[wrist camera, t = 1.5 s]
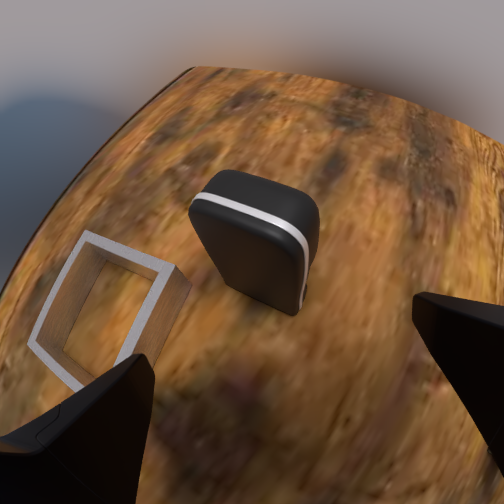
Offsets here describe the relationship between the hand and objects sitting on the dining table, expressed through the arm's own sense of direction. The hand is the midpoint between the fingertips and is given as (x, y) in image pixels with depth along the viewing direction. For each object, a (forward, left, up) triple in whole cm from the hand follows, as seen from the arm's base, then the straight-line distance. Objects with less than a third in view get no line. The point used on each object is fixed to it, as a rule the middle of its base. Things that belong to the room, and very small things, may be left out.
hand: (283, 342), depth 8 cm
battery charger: (+4, -6, -13) cm, 15 cm away
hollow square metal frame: (+16, +3, -13) cm, 21 cm away
